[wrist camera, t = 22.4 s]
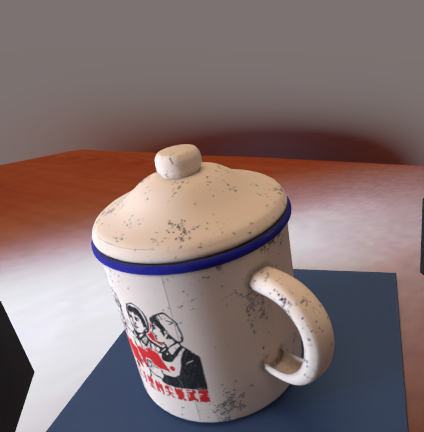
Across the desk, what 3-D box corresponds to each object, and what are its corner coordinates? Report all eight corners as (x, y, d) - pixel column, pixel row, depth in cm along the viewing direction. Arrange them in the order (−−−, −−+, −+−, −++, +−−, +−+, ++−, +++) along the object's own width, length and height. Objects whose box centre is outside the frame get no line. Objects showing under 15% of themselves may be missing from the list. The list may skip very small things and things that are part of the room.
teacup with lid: (111, 361, 23) (40, 169, 18) (231, 287, 28) (199, 118, 23) (253, 535, 14) (184, 240, 9) (398, 382, 18) (401, 131, 14)
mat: (432, 762, 9) (433, 758, 9) (-41, 552, 15) (-45, 548, 15) (395, 276, 26) (395, 272, 26) (175, 267, 32) (174, 264, 32)
